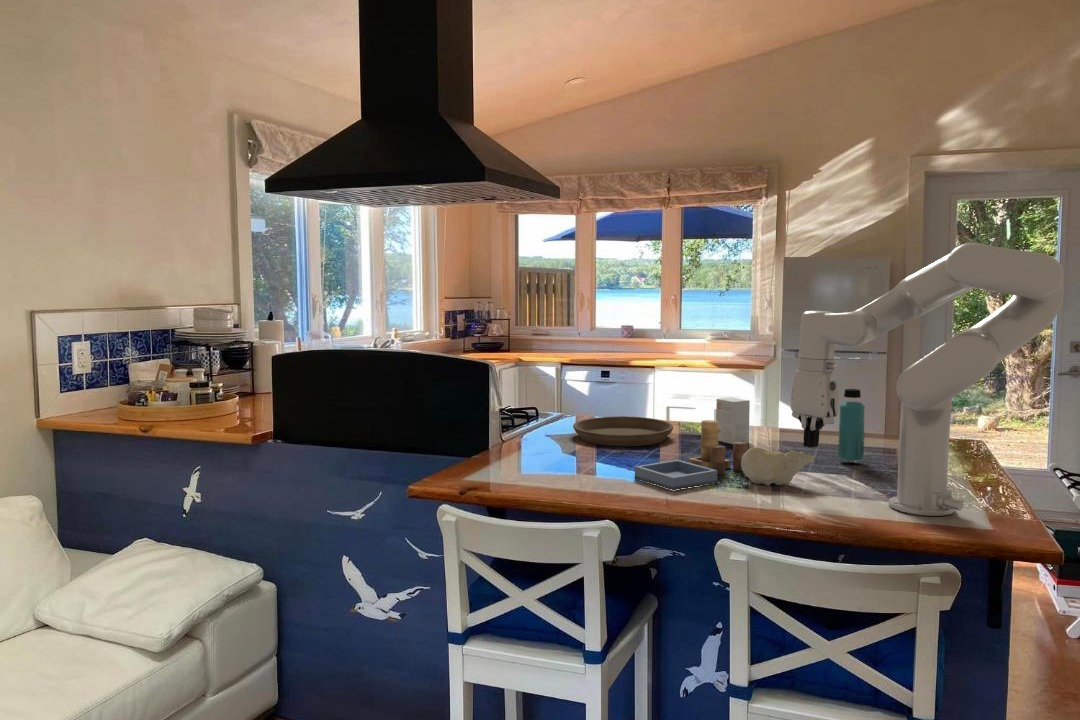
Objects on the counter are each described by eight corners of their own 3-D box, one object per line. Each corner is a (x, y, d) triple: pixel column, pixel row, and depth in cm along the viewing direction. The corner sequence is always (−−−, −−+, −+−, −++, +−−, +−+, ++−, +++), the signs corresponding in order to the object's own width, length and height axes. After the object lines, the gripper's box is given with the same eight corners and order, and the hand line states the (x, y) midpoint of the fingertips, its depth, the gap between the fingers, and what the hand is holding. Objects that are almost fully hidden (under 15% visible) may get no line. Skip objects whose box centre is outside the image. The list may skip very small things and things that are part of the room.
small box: (749, 443, 242) (750, 400, 241) (733, 445, 239) (734, 401, 238) (730, 438, 249) (731, 397, 248) (714, 440, 246) (715, 398, 245)
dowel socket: (730, 467, 209) (730, 460, 209) (708, 471, 205) (709, 463, 205) (709, 462, 216) (709, 455, 216) (688, 465, 212) (688, 458, 212)
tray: (717, 483, 193) (717, 470, 193) (673, 491, 185) (673, 477, 185) (677, 472, 205) (677, 459, 204) (634, 479, 197) (634, 466, 197)
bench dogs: (750, 470, 206) (750, 443, 206) (717, 476, 200) (717, 448, 199) (739, 467, 209) (740, 441, 209) (707, 473, 203) (707, 446, 202)
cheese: (727, 489, 195) (756, 461, 184) (728, 463, 200) (757, 434, 188) (785, 507, 197) (817, 480, 185) (784, 481, 202) (816, 453, 190)
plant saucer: (619, 453, 229) (619, 437, 229) (552, 436, 254) (553, 422, 253) (694, 440, 248) (694, 425, 247) (625, 426, 272) (625, 413, 272)
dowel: (721, 467, 210) (722, 422, 209) (709, 469, 208) (710, 423, 206) (709, 464, 214) (710, 419, 212) (697, 466, 211) (697, 421, 210)
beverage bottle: (865, 466, 211) (868, 390, 209) (839, 465, 212) (841, 390, 211) (861, 461, 217) (863, 387, 216) (835, 460, 219) (837, 387, 217)
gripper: (855, 369, 176) (849, 451, 178) (800, 361, 188) (795, 438, 190) (832, 370, 172) (827, 454, 174) (778, 363, 184) (773, 441, 186)
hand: (810, 446), depth 182 cm, fingers closed
